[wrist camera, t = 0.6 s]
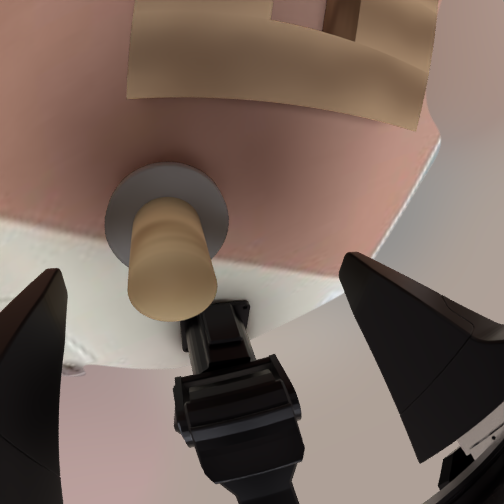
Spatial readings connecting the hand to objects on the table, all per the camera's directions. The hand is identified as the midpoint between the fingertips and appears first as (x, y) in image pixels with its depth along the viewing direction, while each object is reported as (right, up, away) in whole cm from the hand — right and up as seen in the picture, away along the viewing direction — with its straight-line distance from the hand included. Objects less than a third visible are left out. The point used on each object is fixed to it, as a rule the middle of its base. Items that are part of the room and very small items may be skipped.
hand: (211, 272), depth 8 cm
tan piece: (-5, +4, +11) cm, 13 cm away
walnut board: (+4, +16, +5) cm, 17 cm away
